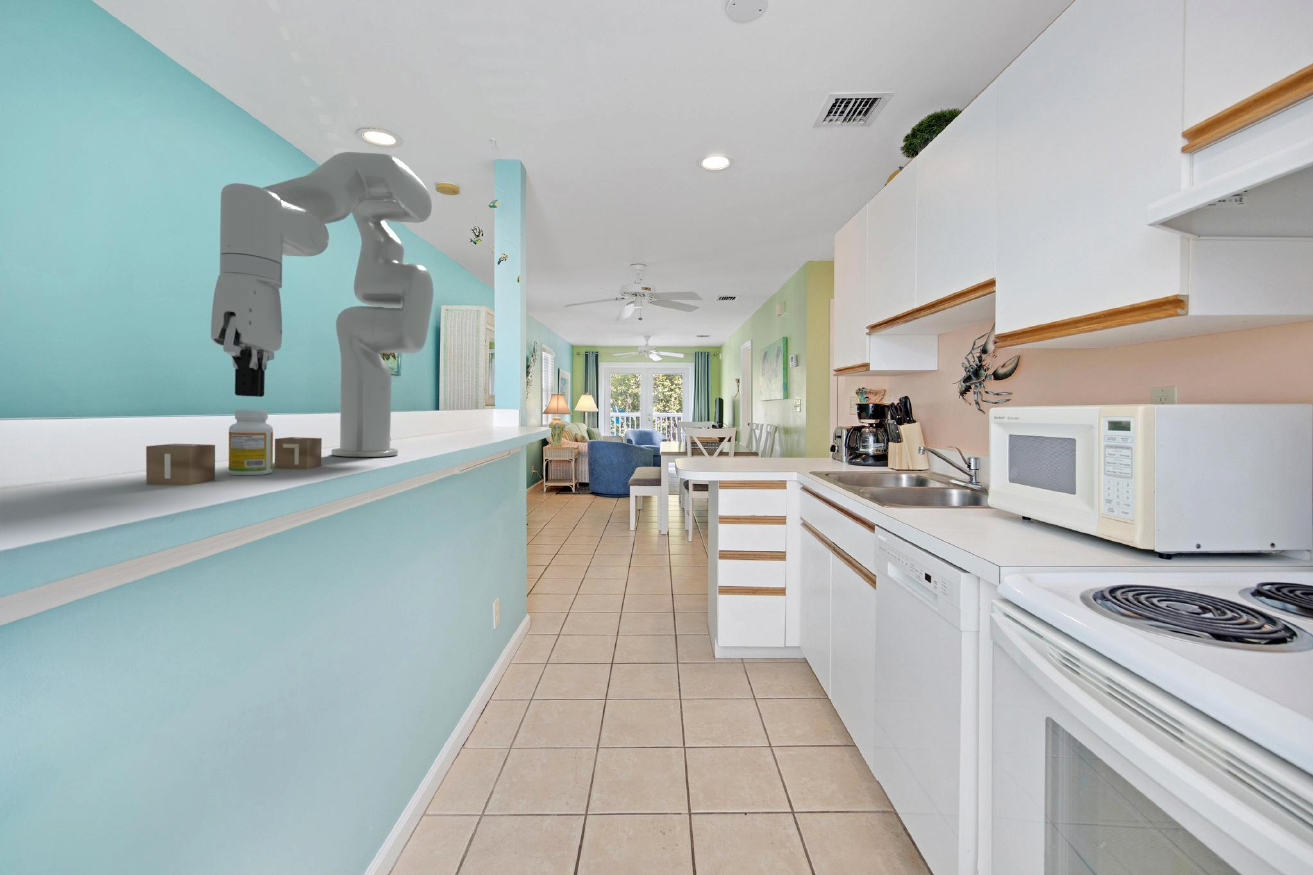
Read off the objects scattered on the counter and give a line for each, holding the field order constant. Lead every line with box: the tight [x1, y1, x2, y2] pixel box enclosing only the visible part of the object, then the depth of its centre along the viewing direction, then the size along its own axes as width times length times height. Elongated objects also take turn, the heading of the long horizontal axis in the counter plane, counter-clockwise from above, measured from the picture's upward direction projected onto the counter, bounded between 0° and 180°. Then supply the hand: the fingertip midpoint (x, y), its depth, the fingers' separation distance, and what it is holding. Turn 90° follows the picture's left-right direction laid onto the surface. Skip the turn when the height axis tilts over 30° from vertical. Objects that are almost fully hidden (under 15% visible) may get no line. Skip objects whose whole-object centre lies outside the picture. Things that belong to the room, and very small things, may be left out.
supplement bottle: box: [228, 409, 274, 476], centre depth 83 cm, size 5×5×10 cm
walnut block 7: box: [274, 436, 323, 470], centre depth 93 cm, size 5×5×5 cm
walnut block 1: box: [145, 443, 216, 486], centre depth 73 cm, size 5×5×5 cm
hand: (249, 395), depth 82 cm, fingers closed
